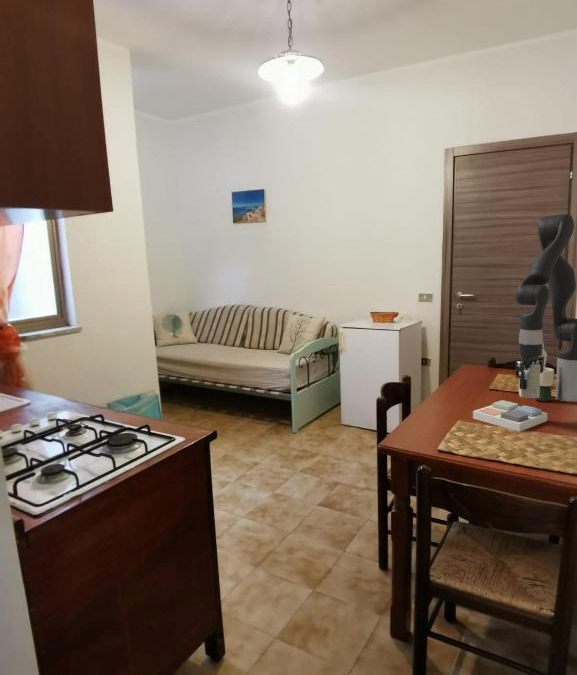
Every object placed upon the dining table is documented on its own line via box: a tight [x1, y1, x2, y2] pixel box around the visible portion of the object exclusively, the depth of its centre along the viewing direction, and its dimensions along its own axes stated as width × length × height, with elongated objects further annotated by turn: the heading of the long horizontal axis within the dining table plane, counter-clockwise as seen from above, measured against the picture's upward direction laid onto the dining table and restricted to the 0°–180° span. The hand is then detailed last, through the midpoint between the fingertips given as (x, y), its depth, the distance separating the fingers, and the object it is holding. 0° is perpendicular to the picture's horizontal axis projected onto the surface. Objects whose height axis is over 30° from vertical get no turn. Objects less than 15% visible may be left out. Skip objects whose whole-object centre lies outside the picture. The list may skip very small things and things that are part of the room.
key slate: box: [515, 405, 543, 417], centre depth 173 cm, size 6×6×2 cm
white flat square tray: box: [472, 404, 548, 433], centre depth 175 cm, size 17×18×3 cm
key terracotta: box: [479, 408, 504, 416], centre depth 176 cm, size 6×6×2 cm
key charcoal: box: [501, 410, 528, 422], centre depth 168 cm, size 6×6×2 cm
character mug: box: [534, 367, 559, 402], centre depth 195 cm, size 11×7×13 cm, turn 57°
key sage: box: [492, 399, 519, 411], centre depth 180 cm, size 6×6×2 cm
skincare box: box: [518, 363, 540, 399], centre depth 171 cm, size 6×4×12 cm
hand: (529, 387), depth 172 cm, fingers closed on skincare box, 7 cm apart
